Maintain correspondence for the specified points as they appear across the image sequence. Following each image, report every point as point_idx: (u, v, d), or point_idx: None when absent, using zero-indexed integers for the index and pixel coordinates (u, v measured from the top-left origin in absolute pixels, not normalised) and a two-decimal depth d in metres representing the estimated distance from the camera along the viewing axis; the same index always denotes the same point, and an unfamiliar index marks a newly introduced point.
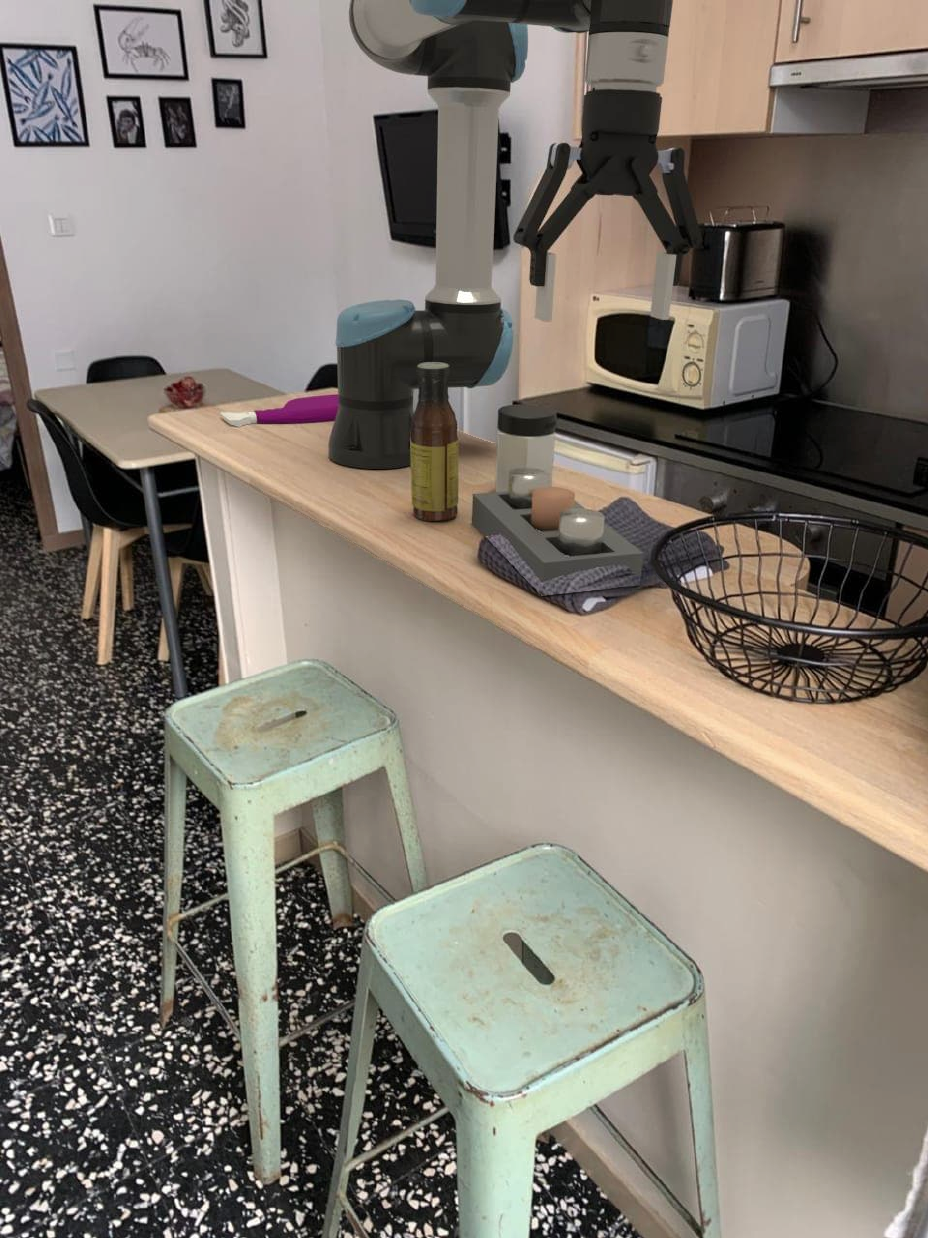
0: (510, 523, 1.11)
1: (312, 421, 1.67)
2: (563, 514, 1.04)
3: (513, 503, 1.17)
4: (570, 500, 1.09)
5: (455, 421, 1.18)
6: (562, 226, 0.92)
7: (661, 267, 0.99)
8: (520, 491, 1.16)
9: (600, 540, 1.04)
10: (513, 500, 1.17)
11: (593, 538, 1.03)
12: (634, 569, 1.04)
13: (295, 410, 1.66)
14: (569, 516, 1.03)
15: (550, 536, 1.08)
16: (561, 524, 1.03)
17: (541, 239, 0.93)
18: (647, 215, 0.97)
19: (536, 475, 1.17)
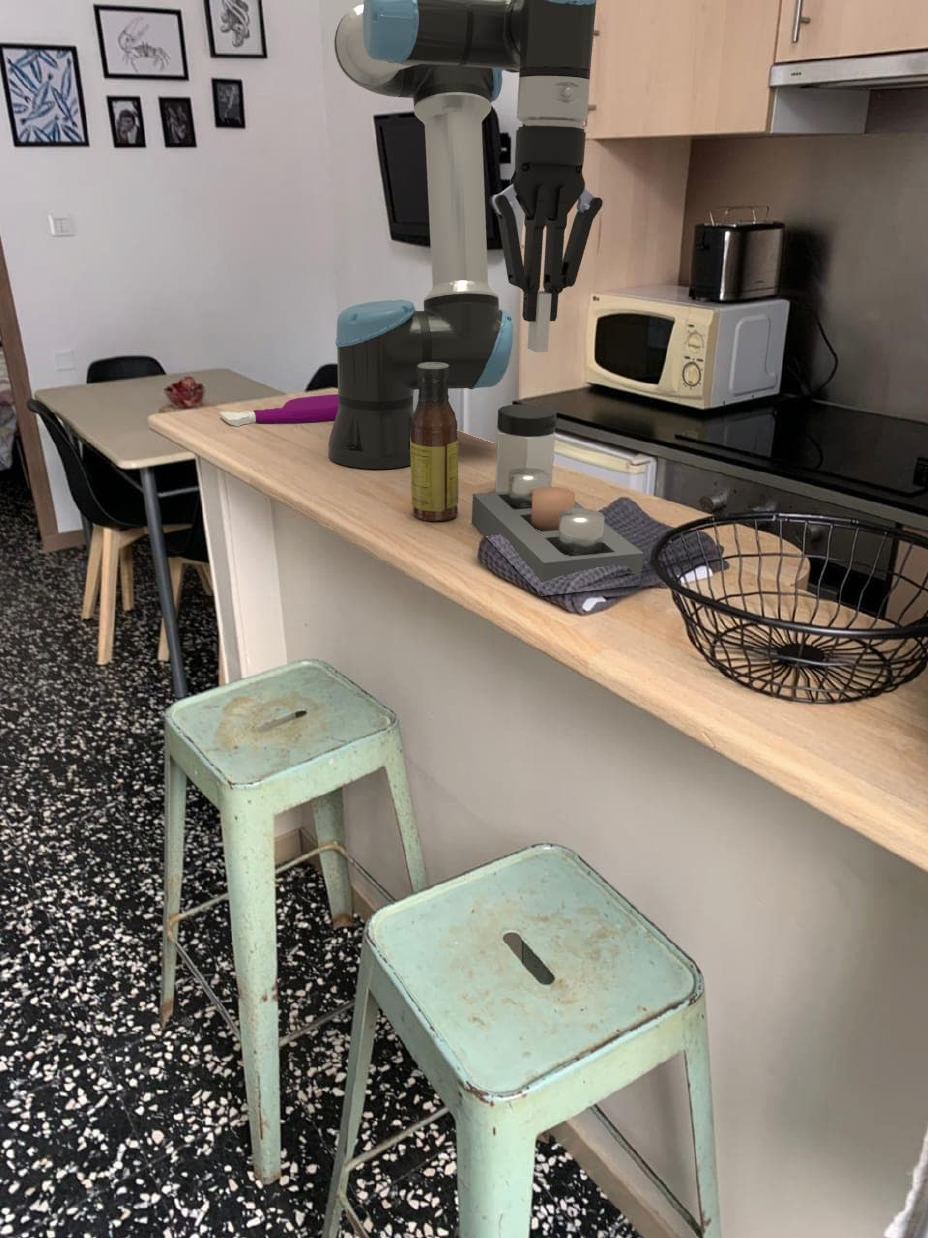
0: (510, 523, 1.11)
1: (311, 421, 1.67)
2: (563, 514, 1.04)
3: (513, 503, 1.17)
4: (570, 500, 1.09)
5: (455, 421, 1.18)
6: (538, 262, 1.05)
7: None
8: (520, 491, 1.16)
9: (600, 540, 1.04)
10: (513, 500, 1.17)
11: (593, 538, 1.03)
12: (634, 569, 1.04)
13: (294, 410, 1.66)
14: (569, 516, 1.03)
15: (550, 536, 1.08)
16: (561, 524, 1.03)
17: (529, 284, 1.06)
18: (546, 245, 1.07)
19: (536, 475, 1.17)
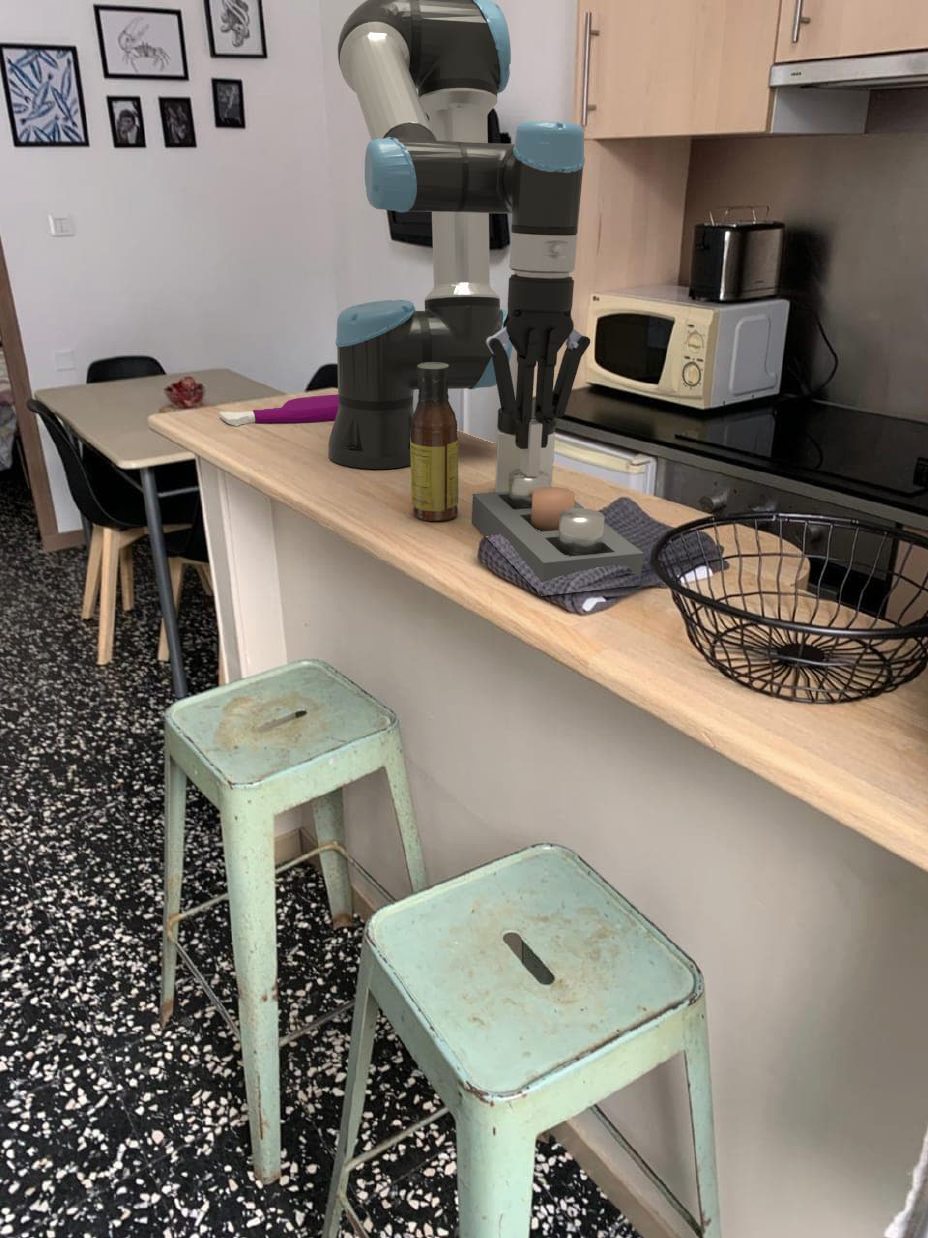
0: (510, 523, 1.11)
1: (310, 421, 1.67)
2: (563, 514, 1.04)
3: (513, 504, 1.17)
4: (570, 500, 1.09)
5: (455, 421, 1.18)
6: (529, 397, 1.12)
7: None
8: (520, 492, 1.16)
9: (600, 540, 1.04)
10: (513, 501, 1.17)
11: (593, 538, 1.03)
12: (634, 569, 1.04)
13: (293, 410, 1.66)
14: (569, 516, 1.03)
15: (550, 536, 1.08)
16: (561, 524, 1.03)
17: (521, 416, 1.13)
18: (538, 378, 1.13)
19: (536, 476, 1.17)
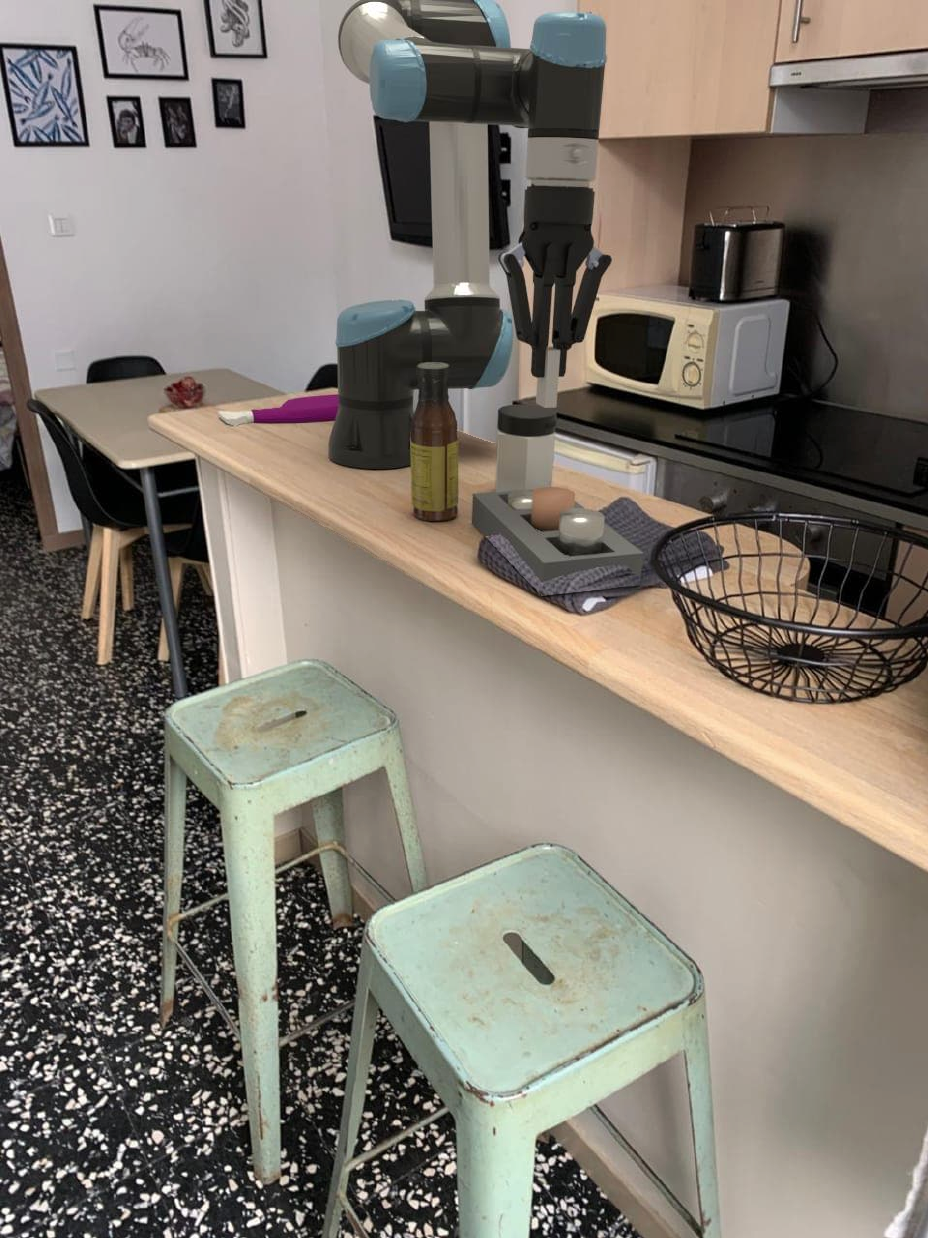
0: (510, 523, 1.11)
1: (309, 421, 1.67)
2: (563, 514, 1.04)
3: None
4: (570, 500, 1.09)
5: (455, 421, 1.18)
6: (546, 320, 1.05)
7: None
8: None
9: (600, 540, 1.04)
10: None
11: (593, 538, 1.03)
12: (634, 569, 1.04)
13: (292, 410, 1.67)
14: (569, 516, 1.03)
15: (550, 536, 1.08)
16: (561, 524, 1.03)
17: (538, 341, 1.05)
18: (555, 301, 1.06)
19: None
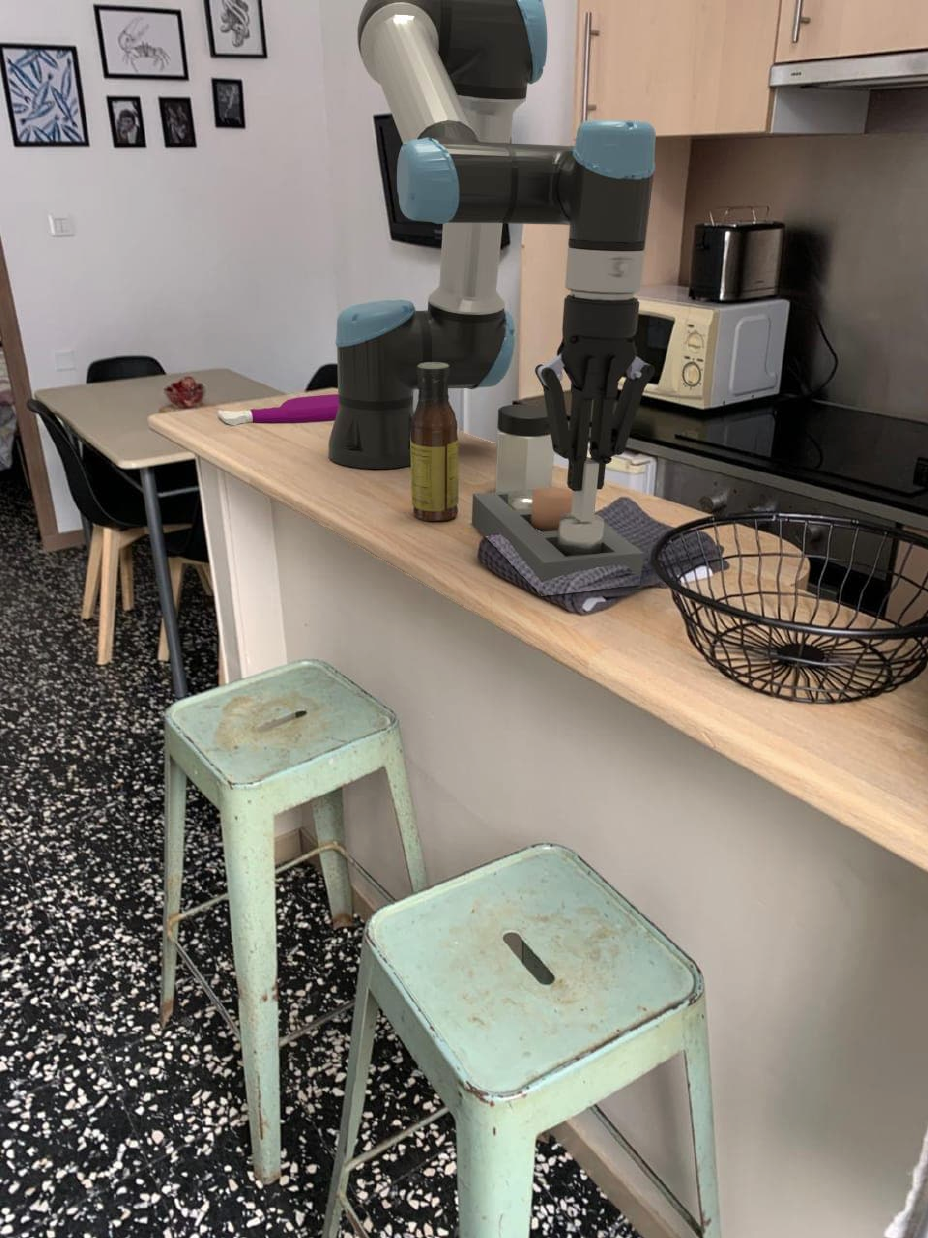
0: (510, 523, 1.11)
1: (308, 420, 1.67)
2: (562, 518, 1.04)
3: None
4: (570, 500, 1.09)
5: (455, 421, 1.18)
6: (585, 433, 0.98)
7: None
8: None
9: (600, 543, 1.04)
10: None
11: (593, 542, 1.03)
12: (634, 569, 1.04)
13: (291, 409, 1.67)
14: (569, 520, 1.04)
15: (550, 536, 1.08)
16: (560, 528, 1.04)
17: (576, 455, 0.99)
18: (594, 412, 1.00)
19: None
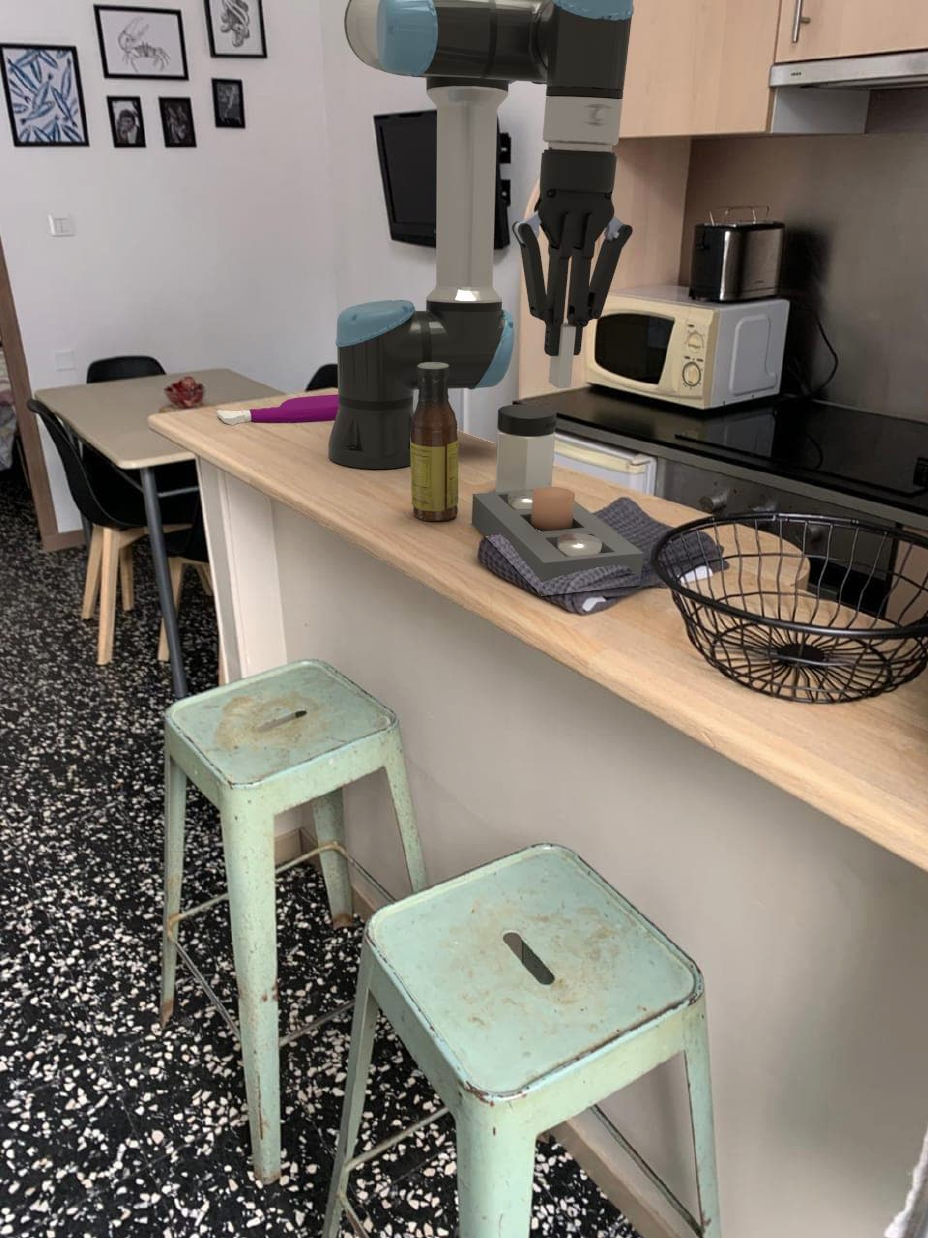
0: (510, 523, 1.11)
1: (306, 420, 1.67)
2: (561, 540, 1.05)
3: None
4: (570, 500, 1.09)
5: (455, 421, 1.18)
6: (562, 294, 0.98)
7: None
8: None
9: None
10: None
11: None
12: (634, 569, 1.04)
13: (289, 409, 1.67)
14: (567, 542, 1.05)
15: (550, 536, 1.08)
16: None
17: (553, 317, 0.99)
18: (571, 274, 0.99)
19: None
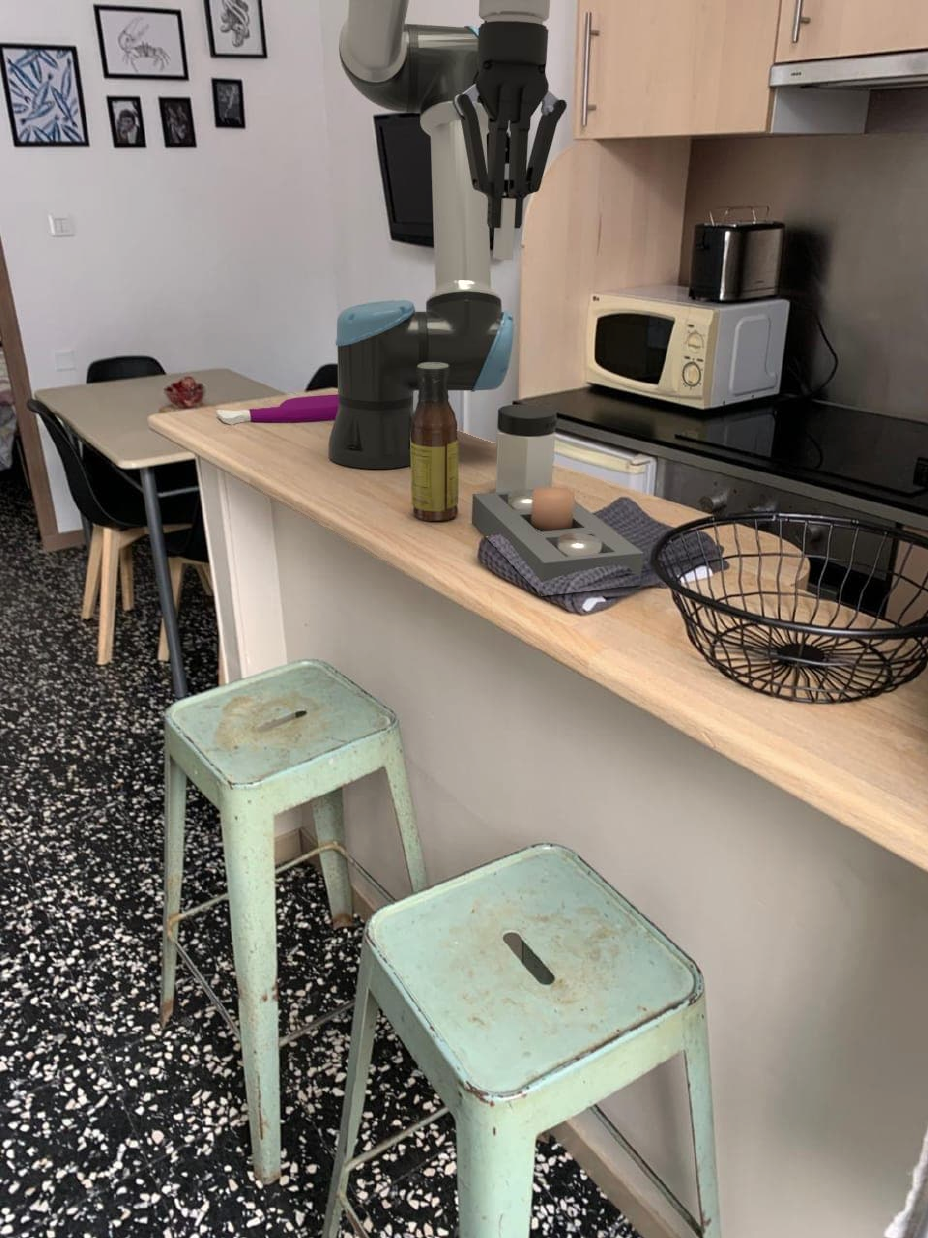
0: (510, 523, 1.11)
1: (306, 420, 1.67)
2: (561, 540, 1.05)
3: None
4: (570, 500, 1.09)
5: (455, 421, 1.18)
6: (501, 166, 1.04)
7: None
8: None
9: None
10: None
11: None
12: (634, 569, 1.04)
13: (289, 409, 1.67)
14: (567, 542, 1.05)
15: (550, 536, 1.08)
16: None
17: (493, 188, 1.05)
18: (511, 149, 1.06)
19: None
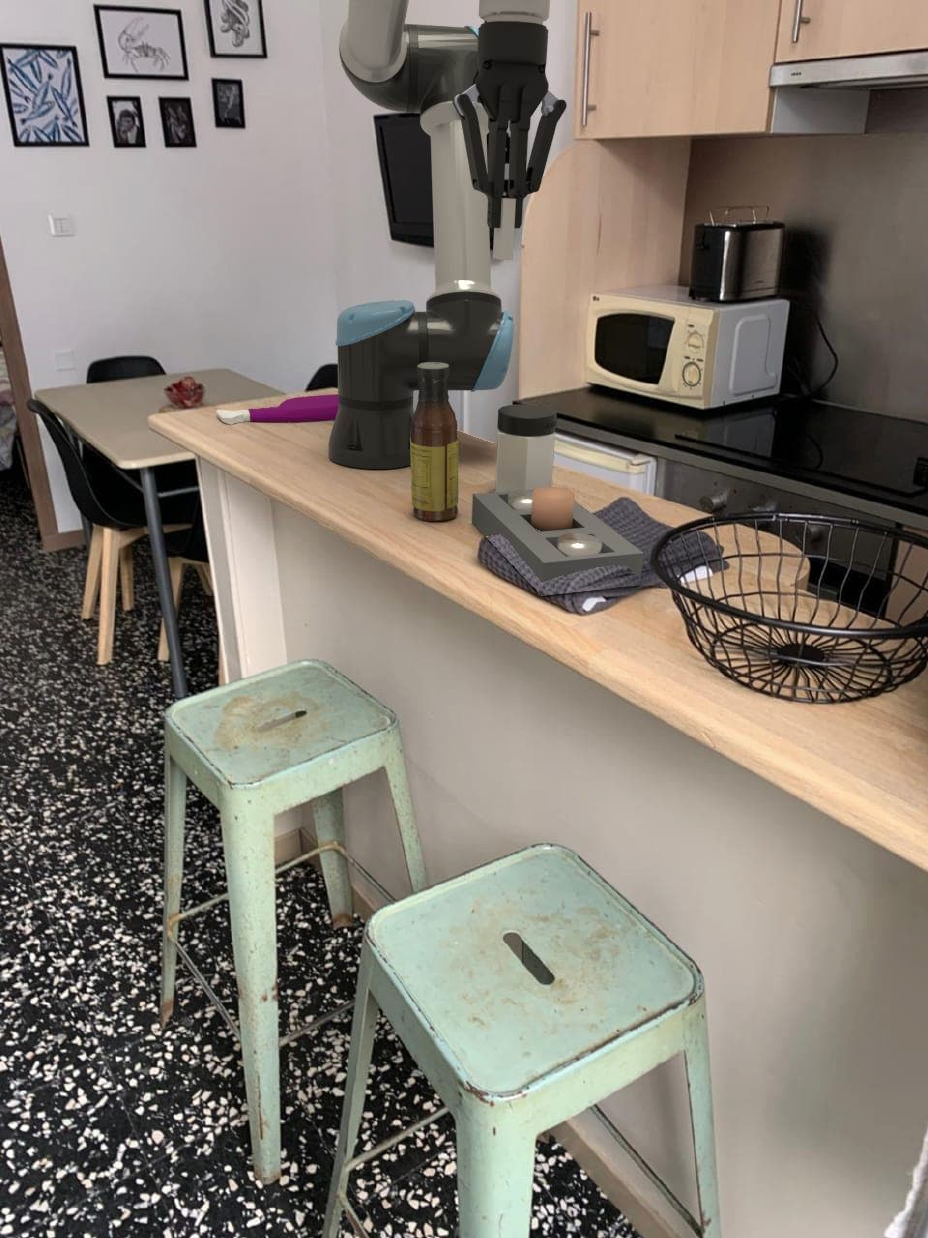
0: (510, 523, 1.11)
1: (305, 420, 1.67)
2: (561, 540, 1.05)
3: None
4: (570, 500, 1.09)
5: (455, 421, 1.18)
6: (501, 166, 1.04)
7: None
8: None
9: None
10: None
11: None
12: (634, 569, 1.04)
13: (288, 409, 1.67)
14: (567, 542, 1.05)
15: (550, 536, 1.08)
16: None
17: (493, 188, 1.05)
18: (510, 149, 1.06)
19: None
